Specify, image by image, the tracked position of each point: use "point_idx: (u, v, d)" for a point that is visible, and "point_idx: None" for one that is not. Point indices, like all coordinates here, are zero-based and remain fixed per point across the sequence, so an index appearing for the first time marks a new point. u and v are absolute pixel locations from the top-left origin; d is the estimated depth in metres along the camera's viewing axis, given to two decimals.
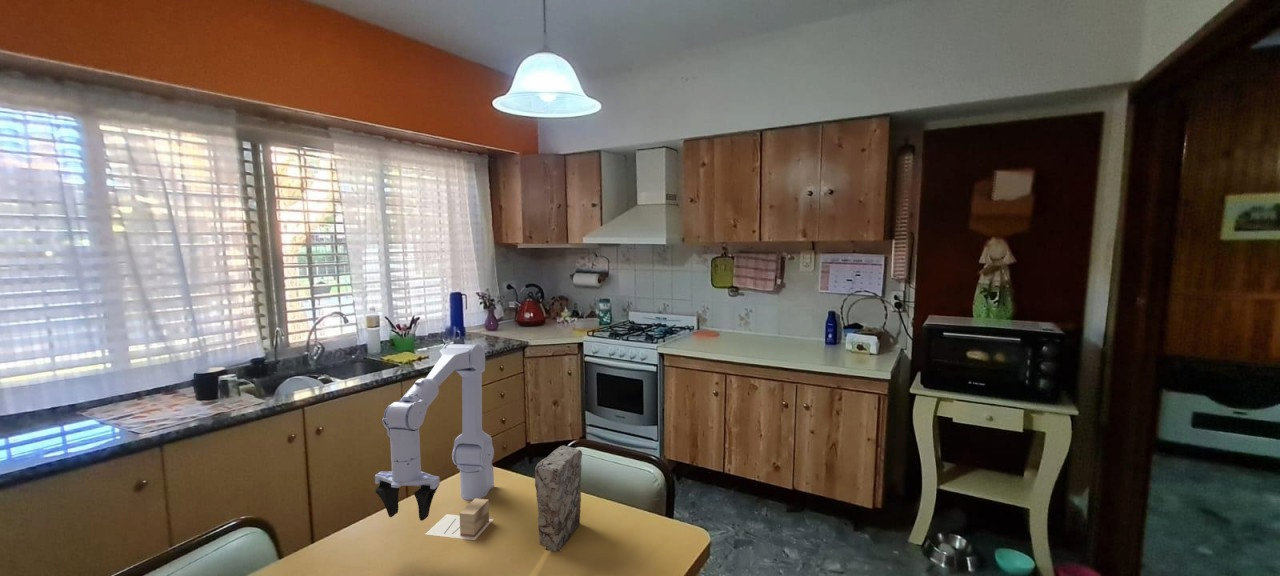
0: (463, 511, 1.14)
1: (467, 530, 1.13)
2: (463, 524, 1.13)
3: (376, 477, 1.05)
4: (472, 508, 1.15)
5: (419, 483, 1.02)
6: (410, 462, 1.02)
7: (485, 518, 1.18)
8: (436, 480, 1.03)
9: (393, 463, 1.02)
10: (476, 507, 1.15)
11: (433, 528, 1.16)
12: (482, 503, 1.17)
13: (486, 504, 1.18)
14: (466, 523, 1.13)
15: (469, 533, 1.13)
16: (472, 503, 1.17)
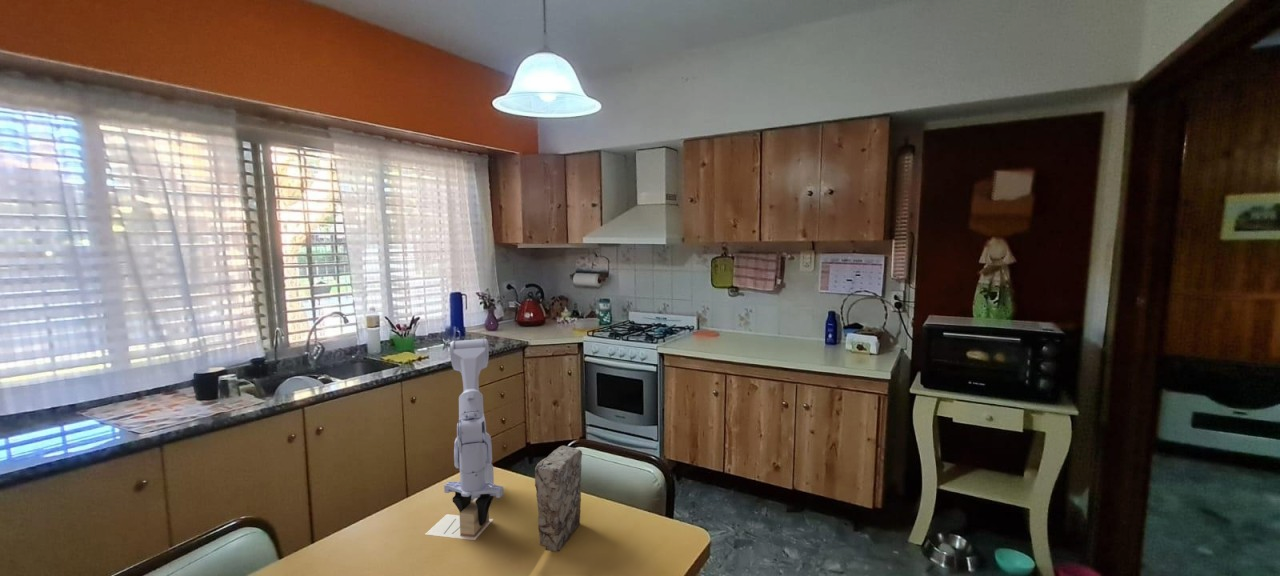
0: (463, 511, 1.14)
1: (467, 530, 1.13)
2: (463, 524, 1.13)
3: (445, 487, 1.16)
4: (472, 508, 1.15)
5: (486, 492, 1.13)
6: (478, 473, 1.13)
7: None
8: (501, 490, 1.14)
9: (463, 474, 1.13)
10: (476, 507, 1.15)
11: (433, 528, 1.16)
12: None
13: None
14: (466, 523, 1.13)
15: (469, 533, 1.13)
16: (472, 503, 1.17)
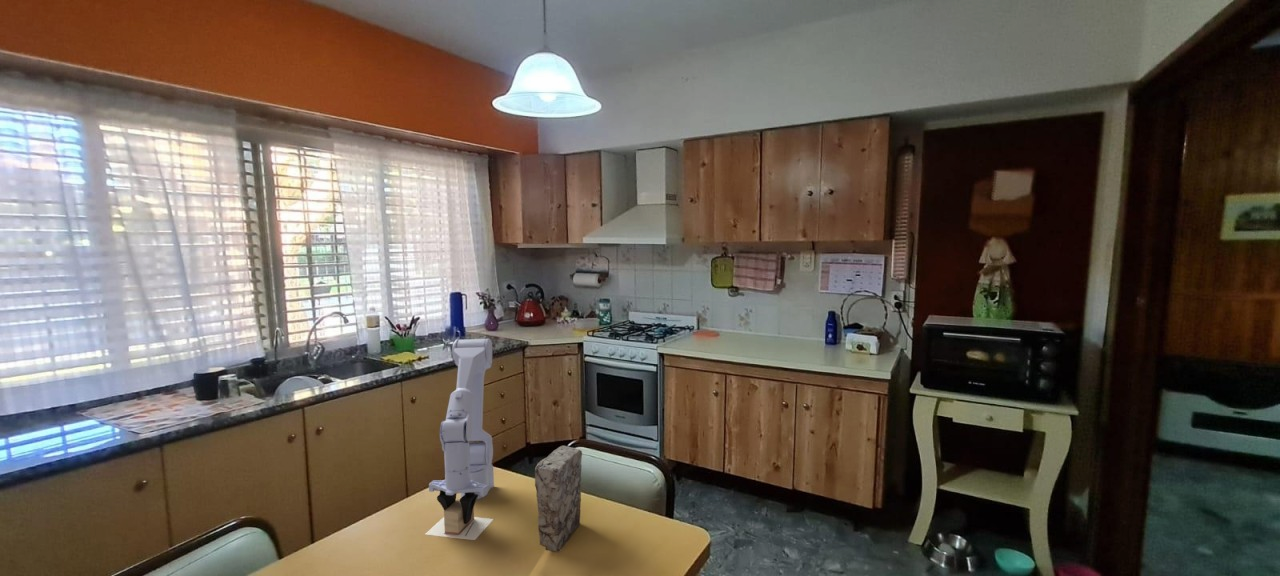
0: (447, 509, 1.14)
1: (451, 528, 1.14)
2: (447, 522, 1.14)
3: (430, 485, 1.17)
4: (457, 506, 1.16)
5: (470, 491, 1.14)
6: (462, 472, 1.14)
7: None
8: (485, 488, 1.15)
9: (447, 473, 1.14)
10: None
11: (433, 528, 1.16)
12: None
13: None
14: (450, 521, 1.13)
15: (453, 531, 1.13)
16: (457, 501, 1.18)
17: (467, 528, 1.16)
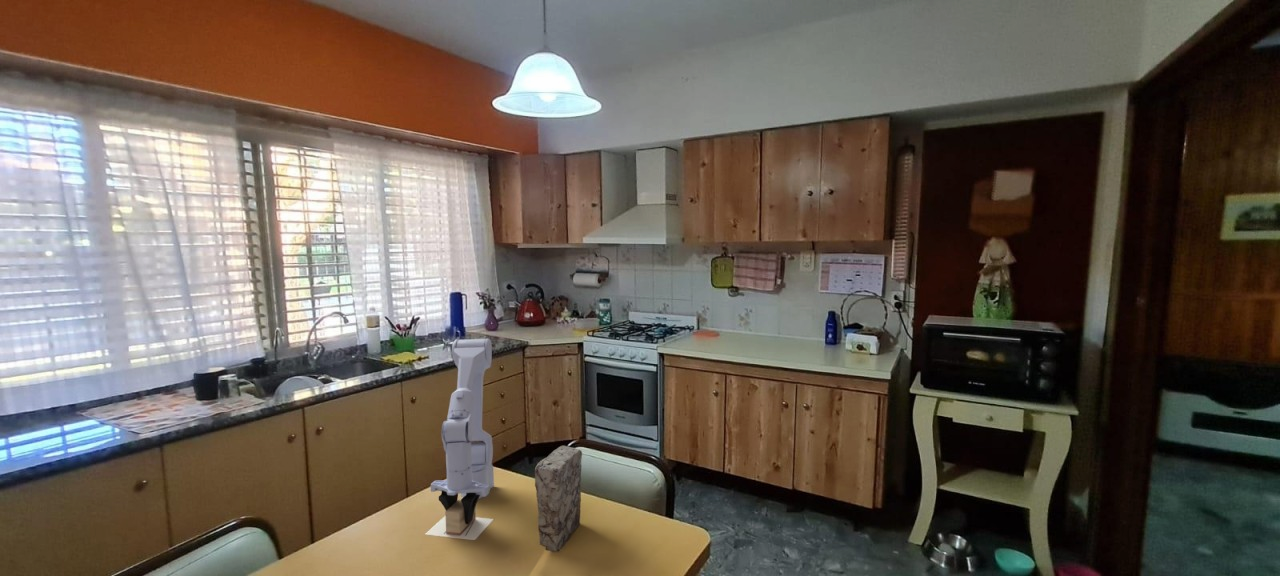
0: (449, 509, 1.14)
1: (453, 528, 1.13)
2: (448, 522, 1.13)
3: (432, 485, 1.16)
4: (458, 506, 1.16)
5: (472, 491, 1.14)
6: (464, 472, 1.14)
7: None
8: (487, 488, 1.15)
9: (448, 473, 1.13)
10: (462, 505, 1.16)
11: (433, 528, 1.16)
12: None
13: None
14: (452, 522, 1.13)
15: (455, 531, 1.13)
16: (458, 502, 1.18)
17: (467, 528, 1.16)
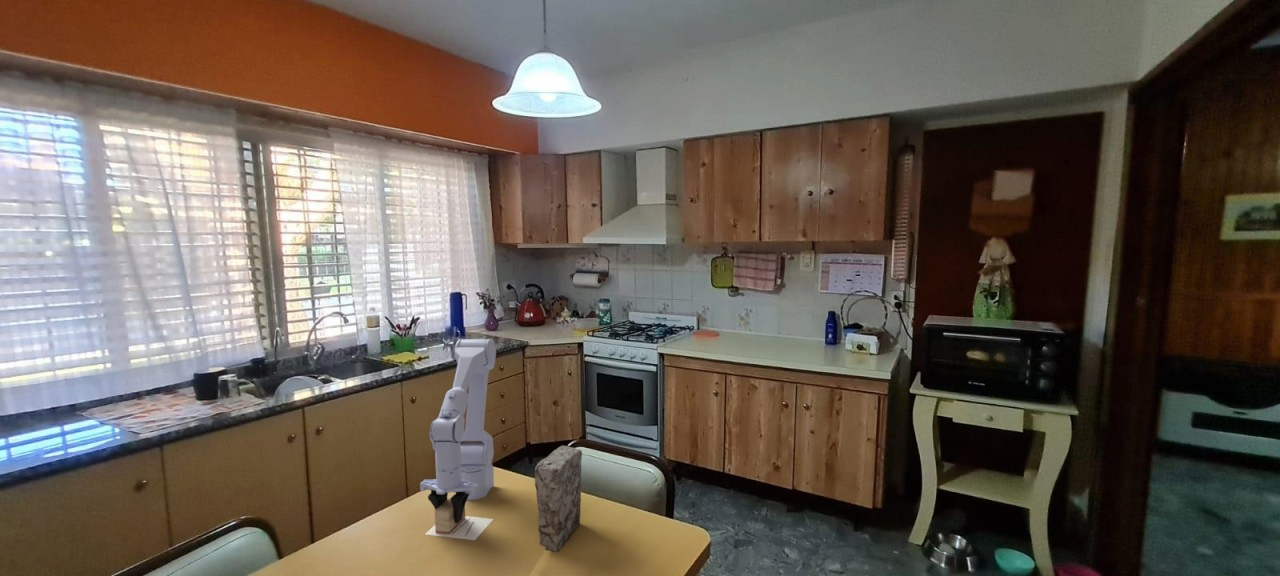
0: (438, 508, 1.15)
1: (442, 527, 1.14)
2: (438, 521, 1.14)
3: (421, 485, 1.17)
4: (448, 505, 1.16)
5: (461, 490, 1.14)
6: (453, 471, 1.14)
7: None
8: (476, 487, 1.15)
9: (438, 472, 1.14)
10: None
11: (433, 528, 1.16)
12: None
13: None
14: (441, 521, 1.14)
15: (444, 530, 1.14)
16: (448, 501, 1.18)
17: (467, 528, 1.16)
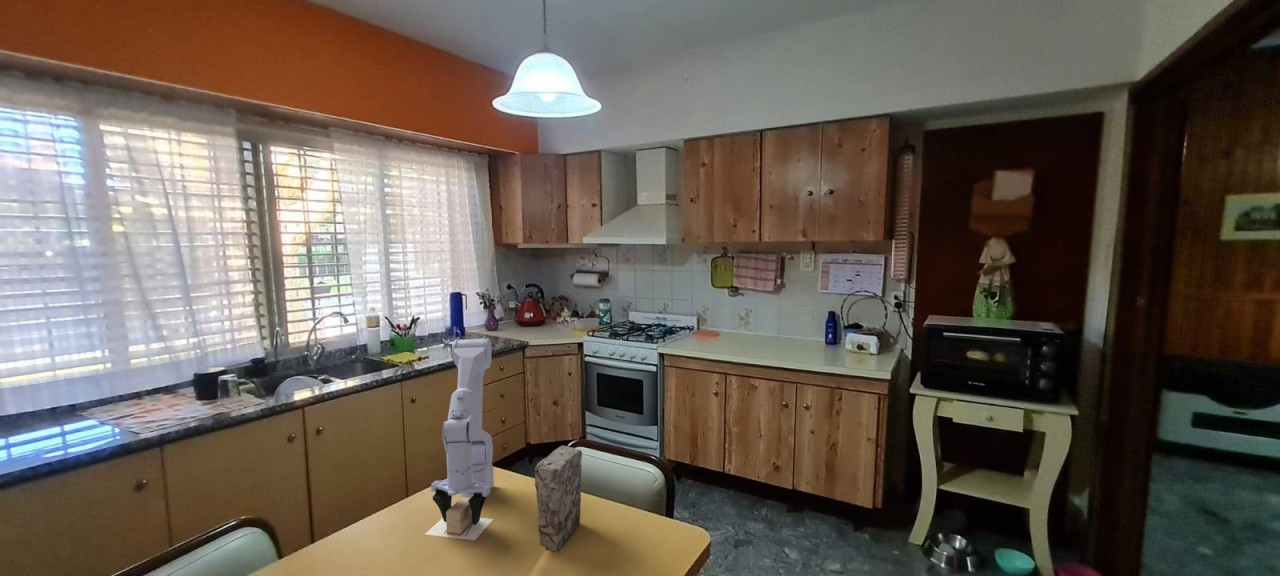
0: (449, 510, 1.14)
1: (453, 529, 1.13)
2: (449, 522, 1.13)
3: (432, 486, 1.16)
4: (459, 506, 1.16)
5: (472, 491, 1.14)
6: (464, 472, 1.14)
7: None
8: (487, 488, 1.15)
9: (449, 473, 1.13)
10: (463, 506, 1.16)
11: (433, 528, 1.16)
12: None
13: None
14: (452, 522, 1.13)
15: (455, 532, 1.13)
16: (459, 502, 1.18)
17: None
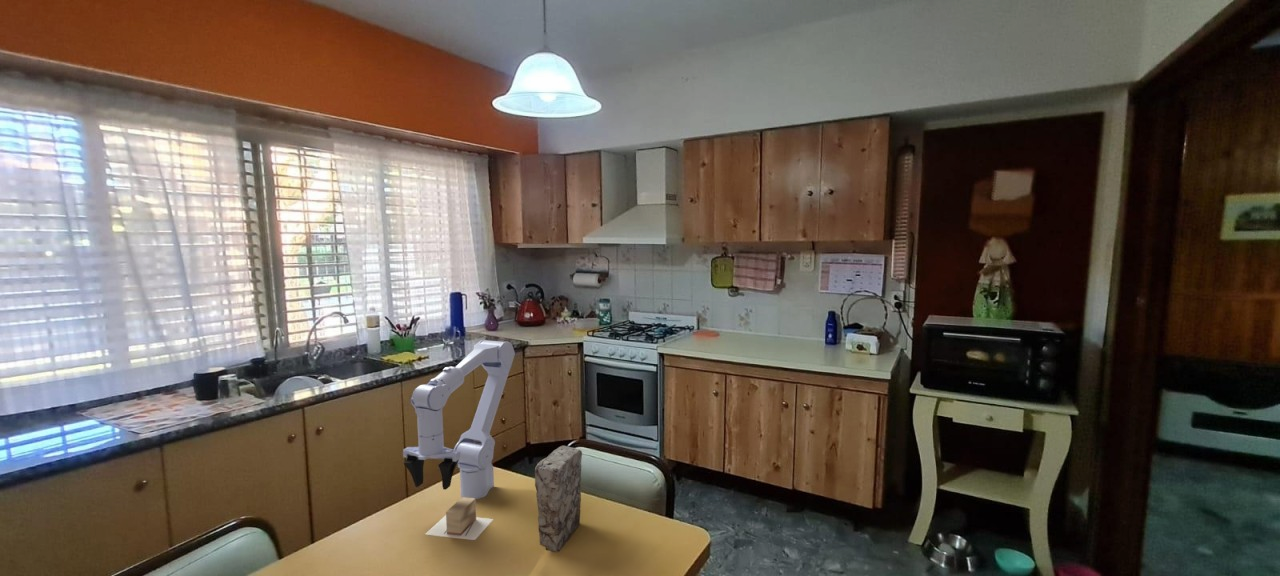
0: (449, 510, 1.14)
1: (453, 529, 1.13)
2: (449, 522, 1.13)
3: (404, 451, 1.19)
4: (459, 506, 1.16)
5: (443, 456, 1.16)
6: (435, 438, 1.16)
7: (472, 517, 1.18)
8: (457, 454, 1.17)
9: (420, 438, 1.16)
10: (463, 506, 1.16)
11: (433, 528, 1.16)
12: (469, 502, 1.18)
13: (473, 503, 1.19)
14: (452, 522, 1.13)
15: (455, 532, 1.13)
16: (459, 502, 1.18)
17: None
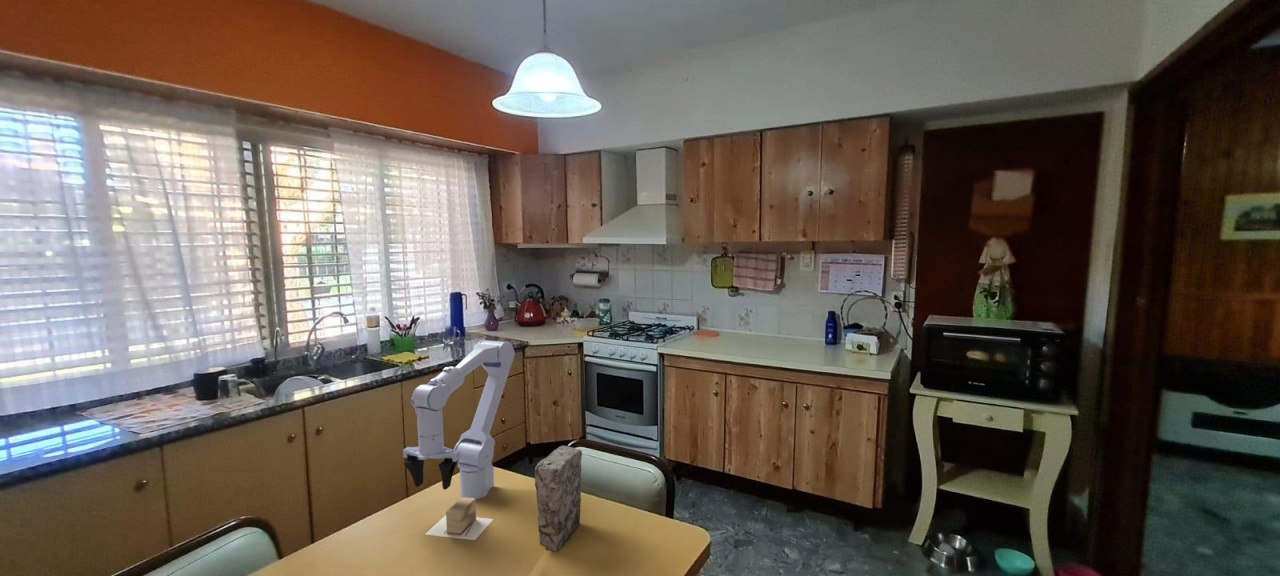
0: (449, 510, 1.14)
1: (453, 529, 1.13)
2: (449, 522, 1.13)
3: (404, 451, 1.19)
4: (459, 506, 1.16)
5: (443, 456, 1.16)
6: (435, 438, 1.16)
7: (472, 517, 1.18)
8: (457, 454, 1.17)
9: (420, 438, 1.16)
10: (463, 506, 1.16)
11: (433, 528, 1.16)
12: (469, 502, 1.18)
13: (473, 503, 1.19)
14: (452, 522, 1.13)
15: (455, 532, 1.13)
16: (459, 502, 1.18)
17: None
